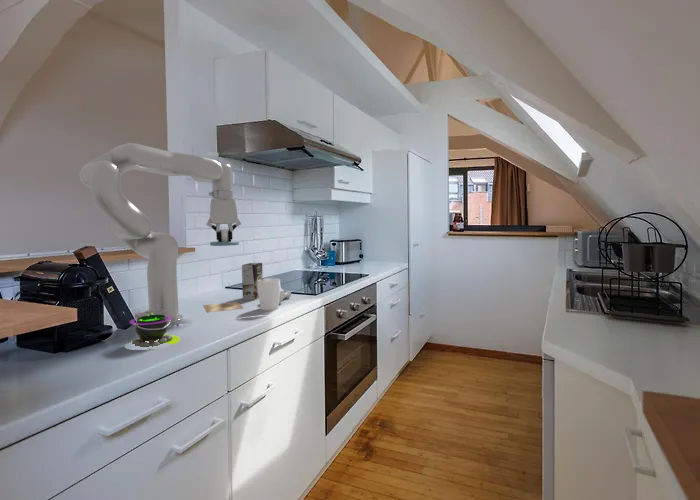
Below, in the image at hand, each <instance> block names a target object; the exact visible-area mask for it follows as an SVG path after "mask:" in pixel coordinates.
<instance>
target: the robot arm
mask: <svg viewBox="0 0 700 500" xmlns="http://www.w3.org/2000/svg"><path fill="white" fill-rule="evenodd" d="M132 170H134V171H135V170H136V171H141V172H145V173H146V172H147V173H152V174H157V175H162V176H169V177H180V176H182V177H183V176H185V177H188V176H189V177H190V178H191V179H193V180H194V181H196V182H199V183H205V182H208V183H209V182H211V183H212V185H211V187H212V191H210V192H208V196H210V197H212V198H211V200H210V207H209V218H208V221H207V222H206V226H207V227H209V228H212V229H213V230H214V231H215V233H216V235H215V236H216V241H218V242H221V232H220V229H221V225H227V226H228V227H227V229H228V236H229V242H231V241H233V231H234V230H235V229H236V228H237V227H239V226H240V225H242V222H241V221H240V219H239V218H238V209H237V203H236V198H233V197H234V196H233V171H232V166H231V165H230V164H228V163H222V162H221V163H220V162H219V161H217V160H216V159H213V158H208V157H205V156H200V155H196V154H188V153H181V152H176V151H175V152H174V151H170V150H164V149H161V148H156V147H152V146H148V145H144V144H140V143H134V142H128V143H125V144H120V145H117V146H116V147H113V148H112V149H110V150H109V151H107V152H105V153H104V154H102V155H100V156H98V157H97V158H94V159H93V160H92V161H89V162H88V163H86V164H85V165H84V166H82V167H81V169H80V171H79V179H80V182H81V183H82V185H84V186H85V187H86V188H89V189H90V190H91V191H90V192H91V196H92V197H91V198H92V201H93V203H94V205H95V207H96V209H98V211H99V212H101V214H102V215H103V216H105V217H106V218H107V219H108V220H109V221H110V222H109V224H110V230H111V233H112V234H113V235H114V236H115V237H116V238H117V239H118V240H119V241H120V242H122V243H123V244H124V245H126V247H129V249H131V250H132V251H133V252H135V253H136V254H137V255H139V256H140V257H142V258H145V259H148V261H147V266H146V279H147V298H148V301H147V302H148V309H150V310H148V309H147V310H144V312H143V311H138V313H137V312H135V313H134V319H137V318H139V317H142V316H148V314H149V315H152V314H151V313H153V315H166V316H168V317H169V316H170V317H171V316H172V317H173V318H172V317H171V318H172V319H171V322H170V320H169V319H168V318H166V320H167V322H168V324H169V322H170V324H174V323H177V322H181V321H183V320H184V315H182V314H180V313H179V294H178V293H179V292H178V291H179V290H178V275H177V274H178V273H177V272H178V271H177V262H178V255H179V254H178V253H179V244H178V241H177V239H176V238H175V236H173V235H172V234H169V233H166V232H158V231H157V232H154V231H153V223H152V221H151V219H150V218H149V217H148V216H147V214H145V213H144V212H142V211H141V210H140V209H139V208H138V207H136V206H135V205H134V204H133V203H132V202H131V200H130V199H128V198H127V196H125V194H124V193H123V191H122V186H121V182H122V181H121V180H122V175H124V174H125V173H127V172H128V171H132ZM157 306H158V307H157ZM151 307H152V308H151ZM164 309H165V310H166V311H165V310H164ZM164 311H165V312H164ZM136 313H137V314H138V315H137V314H136ZM157 313H159V314H157ZM170 324H169V325H170Z"/></svg>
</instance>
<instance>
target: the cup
mask: <svg viewBox="0 0 700 500" xmlns="http://www.w3.org/2000/svg"><path fill="white" fill-rule="evenodd" d="M280 288H282V287H281V278H272V277H268V278H263V279H259V280H258V285H257V289H258V295H259V299H258V300H259V306H260V310H262V311H276V310H278V309H279V304H280V303H279V297H280Z"/></svg>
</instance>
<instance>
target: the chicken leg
mask: <svg viewBox="0 0 700 500" xmlns="http://www.w3.org/2000/svg"><path fill="white" fill-rule="evenodd" d="M291 297H292V293H291V291H288V290H287V291H285V290H284V289H283V288H282V287H281V288H280V297H279V304H280V303H281V302H282V301H283V300H284V299H290V298H291Z"/></svg>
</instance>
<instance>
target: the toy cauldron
mask: <svg viewBox="0 0 700 500" xmlns="http://www.w3.org/2000/svg"><path fill="white" fill-rule="evenodd" d="M145 307H146V306H143V308H145ZM157 307H158V306H157ZM151 308H152V307H151ZM145 309H146V308H145ZM145 309H143V311H144V312H145ZM148 310H150V309H149V308H147V311H148ZM164 310H165V309H164ZM143 311H142V312H143ZM165 311H166V310H165ZM165 311H164V312H165ZM135 313H136V314H137V313H139V311H138V312H135ZM151 314H152V315H149V314H148V316H142V317H139V318H136V319H135V318H133V319H131V320H130V321H129V324H132V325H134V329H135V330H134V331H135V333H136V335H137V336H138V338H139V339H138V338H135V340H134V339H132V340H133V341H132V340H131V341H132V344H135V346H140V347H149V346H152V347H153V346H158V345H160V344H163V343H167V344H168V343H170V344H171V346H174V345H176V344H178V343H179V342H180V341H181V338H180V337H179V336H177V335H173V334H166V333H167V331H168V329H169V325H170V324H171V323H170V322H171V319H172V318H173V317H172V316H171V317H172V318H171V317H170V316H169V317H168V316H166V315H153V313H151ZM157 314H159V313H157ZM137 315H138V314H137ZM166 318H168V319H169V320H170V322H169V324H168V322H167V320H166ZM158 339H159V340H158ZM156 340H158V341H157V342H154V341H156ZM145 341H149V343H147V342H145ZM173 344H174V345H173Z"/></svg>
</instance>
